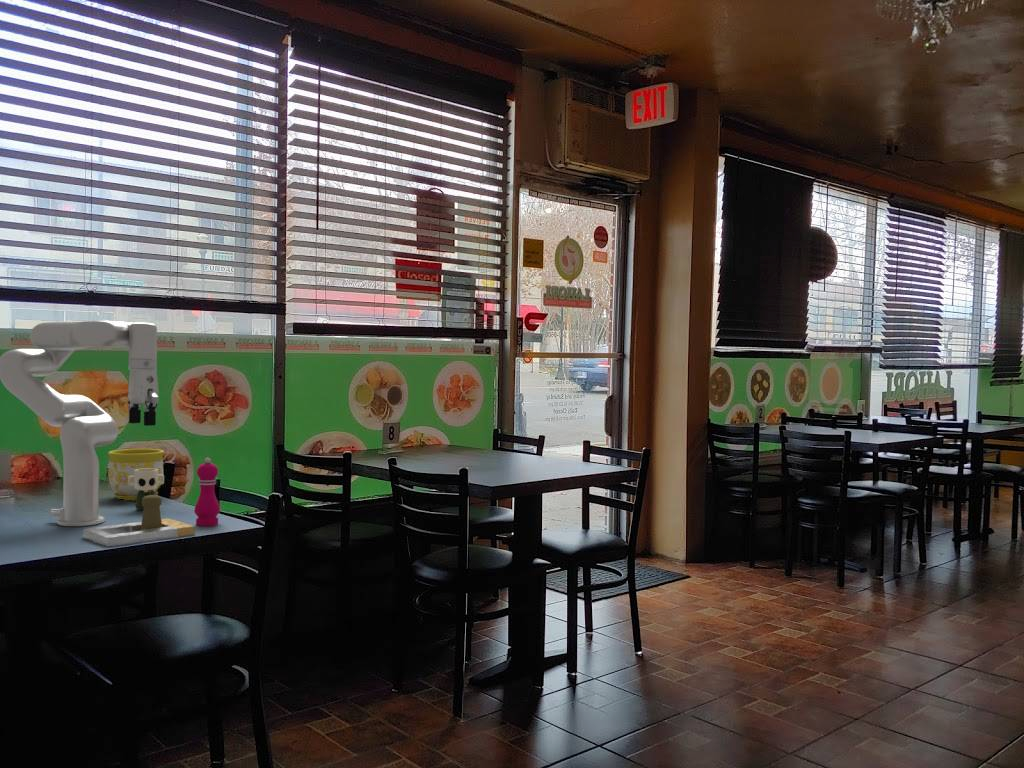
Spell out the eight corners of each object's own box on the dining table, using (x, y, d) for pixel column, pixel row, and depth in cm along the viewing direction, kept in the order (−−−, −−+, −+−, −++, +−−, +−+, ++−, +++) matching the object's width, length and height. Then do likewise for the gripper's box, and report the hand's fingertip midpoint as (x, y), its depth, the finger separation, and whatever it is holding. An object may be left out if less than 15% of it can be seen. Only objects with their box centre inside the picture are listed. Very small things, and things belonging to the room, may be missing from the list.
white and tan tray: (107, 546, 230) (108, 537, 230) (83, 537, 241) (83, 528, 241) (194, 534, 248) (194, 526, 248) (168, 526, 259) (168, 518, 259)
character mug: (128, 512, 280) (128, 471, 280) (126, 508, 287) (126, 469, 286) (165, 510, 286) (165, 470, 285) (162, 506, 292) (162, 467, 291)
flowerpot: (100, 502, 299) (100, 453, 298) (117, 493, 316) (117, 448, 316) (155, 501, 301) (156, 454, 300) (169, 493, 319) (169, 448, 318)
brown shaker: (166, 532, 250) (166, 493, 250) (158, 536, 244) (158, 497, 244) (144, 532, 250) (145, 493, 250) (136, 536, 244) (136, 497, 244)
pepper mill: (194, 522, 265) (194, 456, 265) (219, 521, 268) (219, 456, 267) (194, 527, 258) (194, 459, 258) (220, 526, 261) (220, 458, 260)
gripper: (169, 366, 252) (168, 425, 252) (142, 364, 264) (141, 421, 264) (143, 366, 246) (142, 427, 247) (117, 364, 258) (116, 422, 259)
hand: (142, 424), depth 256 cm, fingers open, 9 cm apart
